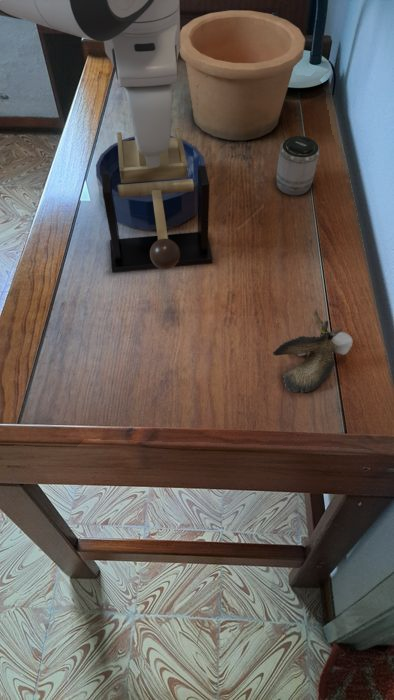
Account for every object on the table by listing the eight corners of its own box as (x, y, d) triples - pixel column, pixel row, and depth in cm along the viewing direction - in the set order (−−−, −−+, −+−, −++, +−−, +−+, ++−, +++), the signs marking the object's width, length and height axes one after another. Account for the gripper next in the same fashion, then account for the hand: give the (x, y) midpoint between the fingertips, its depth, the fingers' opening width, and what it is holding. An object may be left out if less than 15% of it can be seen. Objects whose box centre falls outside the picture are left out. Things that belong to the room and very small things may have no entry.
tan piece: (125, 279, 60) (121, 257, 57) (116, 154, 75) (113, 131, 72) (208, 271, 61) (209, 249, 58) (183, 149, 76) (183, 126, 73)
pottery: (297, 150, 93) (312, 69, 81) (177, 148, 93) (174, 67, 81) (287, 88, 105) (299, 10, 93) (181, 86, 105) (180, 8, 93)
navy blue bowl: (103, 236, 79) (97, 205, 75) (100, 169, 89) (95, 138, 84) (211, 227, 81) (212, 196, 76) (197, 161, 91) (197, 130, 86)
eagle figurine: (293, 319, 69) (257, 354, 63) (332, 299, 63) (296, 336, 58) (325, 364, 69) (292, 402, 64) (366, 349, 64) (334, 390, 58)
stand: (112, 272, 75) (97, 198, 64) (110, 244, 78) (96, 169, 67) (212, 263, 76) (215, 188, 65) (206, 235, 80) (208, 160, 69)
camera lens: (284, 169, 89) (291, 128, 83) (317, 181, 87) (327, 139, 81) (268, 189, 86) (274, 147, 80) (302, 201, 84) (311, 160, 78)
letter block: (139, 166, 70) (136, 140, 66) (137, 150, 72) (134, 123, 69) (168, 164, 70) (167, 138, 67) (165, 147, 72) (164, 121, 69)
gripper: (110, -4, 63) (123, 103, 75) (117, 80, 52) (131, 192, 63) (160, -6, 64) (165, 100, 75) (179, 76, 52) (181, 188, 64)
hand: (150, 143), depth 69 cm, fingers open, 8 cm apart
